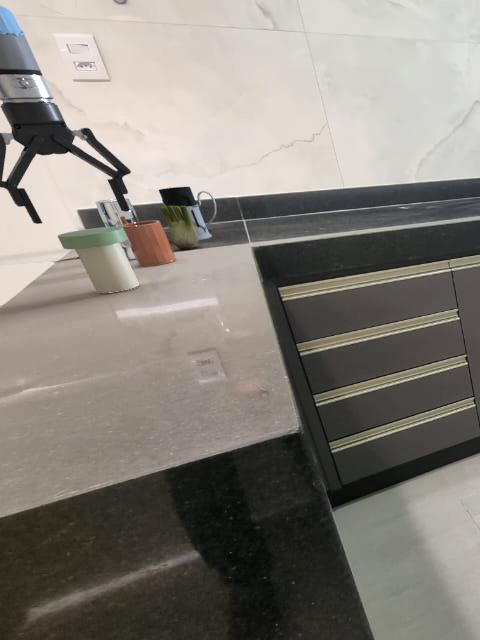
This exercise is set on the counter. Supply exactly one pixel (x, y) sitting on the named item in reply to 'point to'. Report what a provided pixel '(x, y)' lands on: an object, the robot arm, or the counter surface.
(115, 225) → the beer glass
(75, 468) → the counter surface
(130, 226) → the cup
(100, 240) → the lid
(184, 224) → the fennel bulb
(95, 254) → the can
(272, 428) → the counter surface
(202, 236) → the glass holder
